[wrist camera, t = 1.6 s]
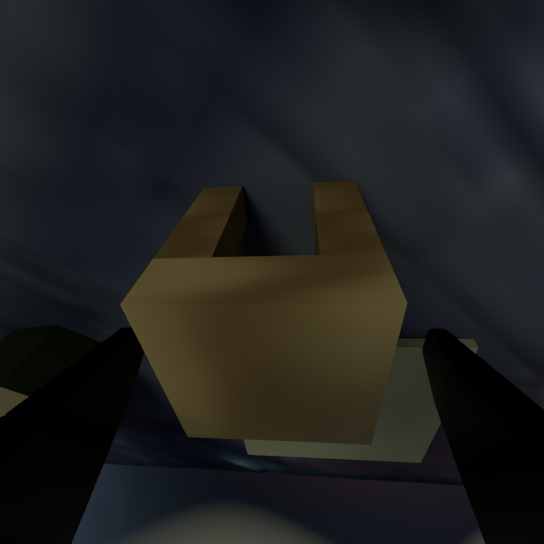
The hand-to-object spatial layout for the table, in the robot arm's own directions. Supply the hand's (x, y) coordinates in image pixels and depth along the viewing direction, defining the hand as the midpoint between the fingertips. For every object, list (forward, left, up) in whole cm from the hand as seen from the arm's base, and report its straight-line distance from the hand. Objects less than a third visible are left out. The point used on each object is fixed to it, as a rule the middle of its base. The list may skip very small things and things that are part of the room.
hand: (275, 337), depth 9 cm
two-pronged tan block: (0, 0, -5) cm, 5 cm away
